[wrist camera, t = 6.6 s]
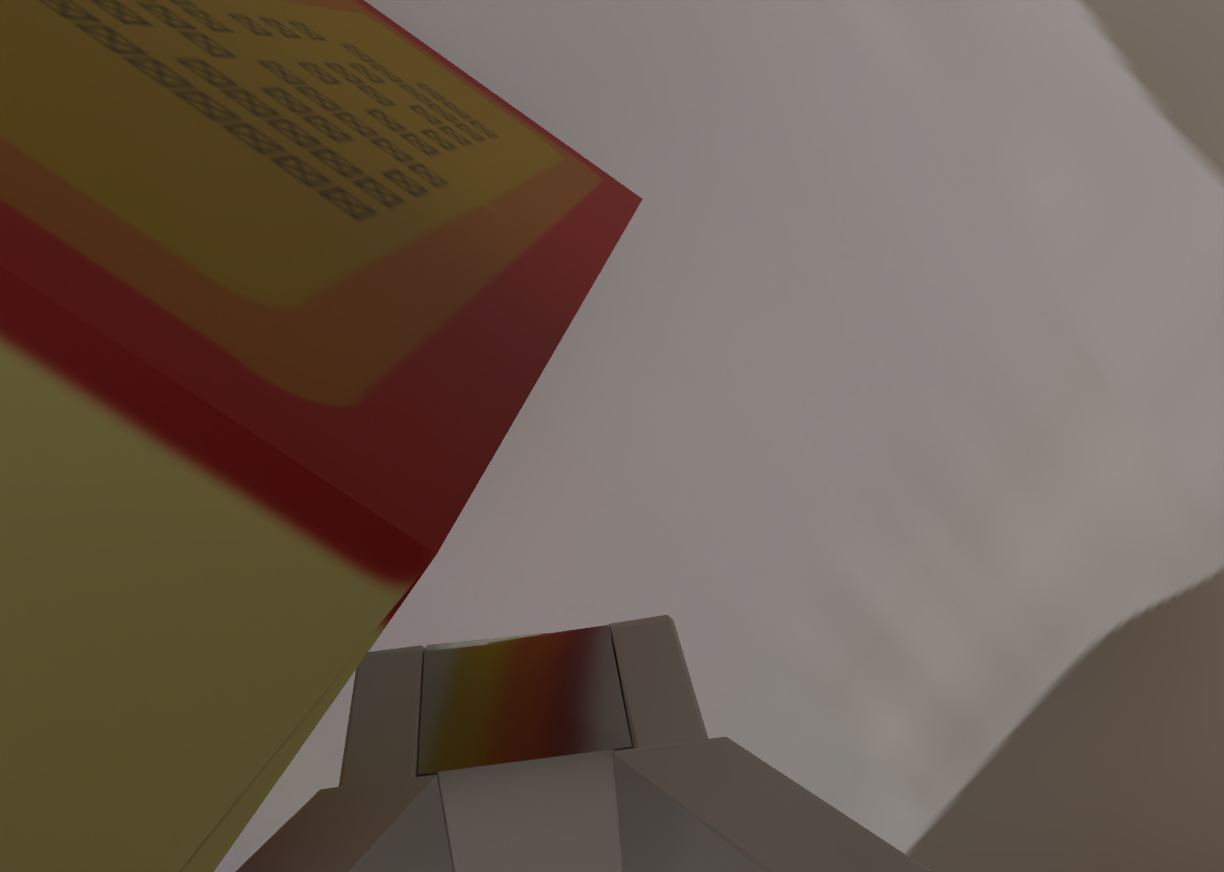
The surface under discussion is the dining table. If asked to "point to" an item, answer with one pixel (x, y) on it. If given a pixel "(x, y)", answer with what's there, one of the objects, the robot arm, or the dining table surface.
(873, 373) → the dining table surface
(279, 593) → the baking soda box
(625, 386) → the dining table surface
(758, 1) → the dining table surface
